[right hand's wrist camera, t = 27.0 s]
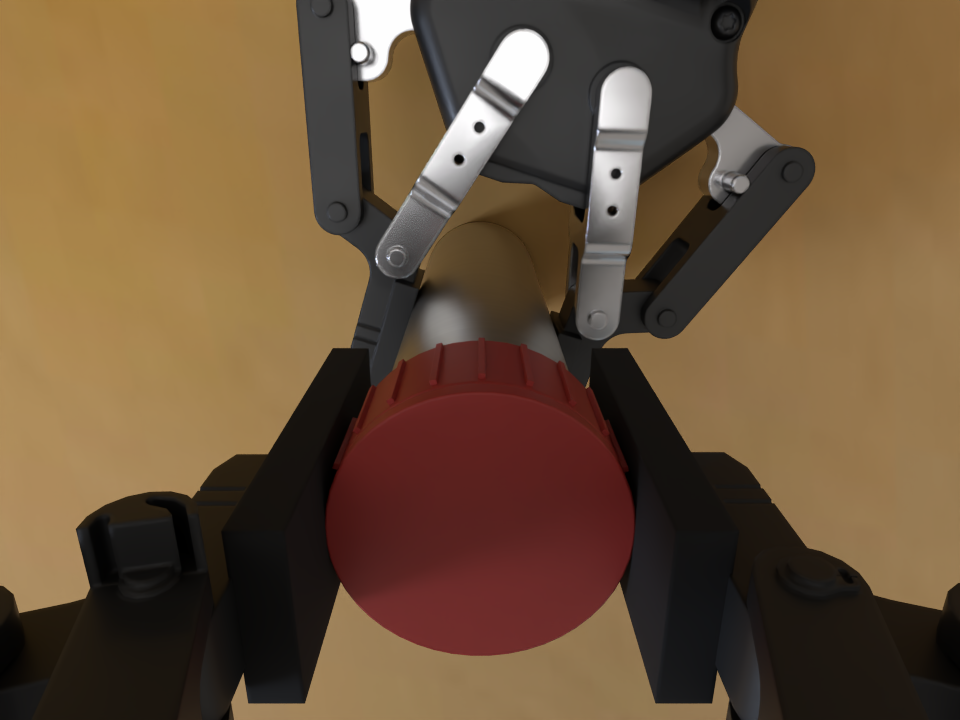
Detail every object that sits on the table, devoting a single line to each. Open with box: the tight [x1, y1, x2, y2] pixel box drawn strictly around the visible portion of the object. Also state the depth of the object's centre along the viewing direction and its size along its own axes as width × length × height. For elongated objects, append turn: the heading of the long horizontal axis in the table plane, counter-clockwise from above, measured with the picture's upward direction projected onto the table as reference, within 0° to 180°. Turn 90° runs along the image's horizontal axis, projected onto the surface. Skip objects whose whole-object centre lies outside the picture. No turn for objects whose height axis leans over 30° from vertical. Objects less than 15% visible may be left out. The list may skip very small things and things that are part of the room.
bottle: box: [392, 222, 568, 371], centre depth 19 cm, size 4×4×16 cm
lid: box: [325, 338, 635, 656], centre depth 11 cm, size 5×5×2 cm
